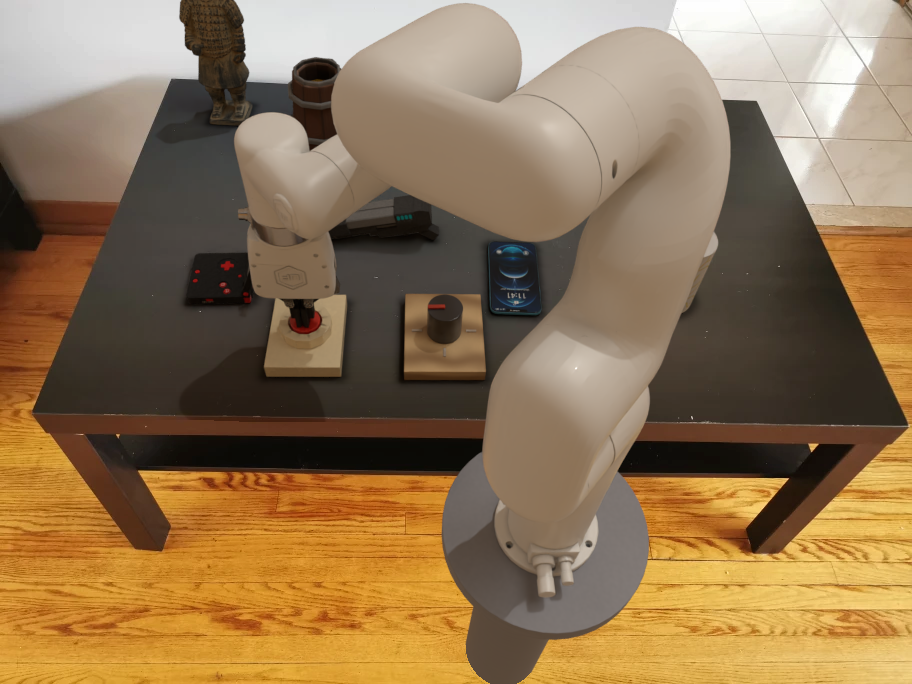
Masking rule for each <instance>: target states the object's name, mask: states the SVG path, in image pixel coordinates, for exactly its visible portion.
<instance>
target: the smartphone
mask: <svg viewBox="0 0 912 684" xmlns="http://www.w3.org/2000/svg"><path fill="white" fill-rule="evenodd" d="M487 252H488V253H487V255H488V285H489V309H490V311H491V312H492V313H493V314H496V315H512V316H513V315H516V316H517V315H519V316H538V315H540V314H541V312H542V296H541V288H540V277H539V268H538V267H539V266H538V255H537V247H536V245H535V244H534V243H533V242H523V241H519V242H518V241H494V240H493V241H491V242H489V243H488V246H487Z"/></svg>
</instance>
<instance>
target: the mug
mask: <svg viewBox="0 0 912 684" xmlns="http://www.w3.org/2000/svg"><path fill="white" fill-rule="evenodd" d="M341 69H342V67H341V66H340V64H339V63H337V61H335V60H334V59H333V58H330V57H329V58H328V57H327V58H326V57H318V56H313V57H309V58H305V59H301V60H300V61H299V62H297V63H296V64H295V65H294V66H293V67H292V70H291V80H290V81H289V82H288V83H287V93H288V94H287V95H288V99H289V100H290V101H292V114H291V115H290V116H291V117H293V118H295V119H296V120H297V121H298V122H300V123H301V125H302V126H303V127H304V129H305V131H306V134H307V137H308V143H309V151H311V150H313V149H314V148H316V147H317V146H319V145H320V144H322V143H324V142H325V141H327V140H328V139H330V138H331V137H333V136H335V135H337V132H336V129H335V126H334V123H333V117H332V110H331V95H332V91H333V88H334V83H335V80H336V78H337V76H338V74H339V72H340V70H341Z"/></svg>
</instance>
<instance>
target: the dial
mask: <svg viewBox="0 0 912 684" xmlns="http://www.w3.org/2000/svg"><path fill="white" fill-rule="evenodd" d="M442 294H443V295H438V296H435V297H434V298H432V299H431V300H430V302H429V303H428V308H427V334H428V336H429V337H430V338H431V339H432V340H433V341H434V342H436V343H440V344H449V343H452V342H454V341H456V340H457V339H458V338H459V337H460V335H461V328H462V317H463V305H462V303H461V301H460V300H459V299H458V298H456V297H454V296H452V295H447V294H448V293H442Z"/></svg>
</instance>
